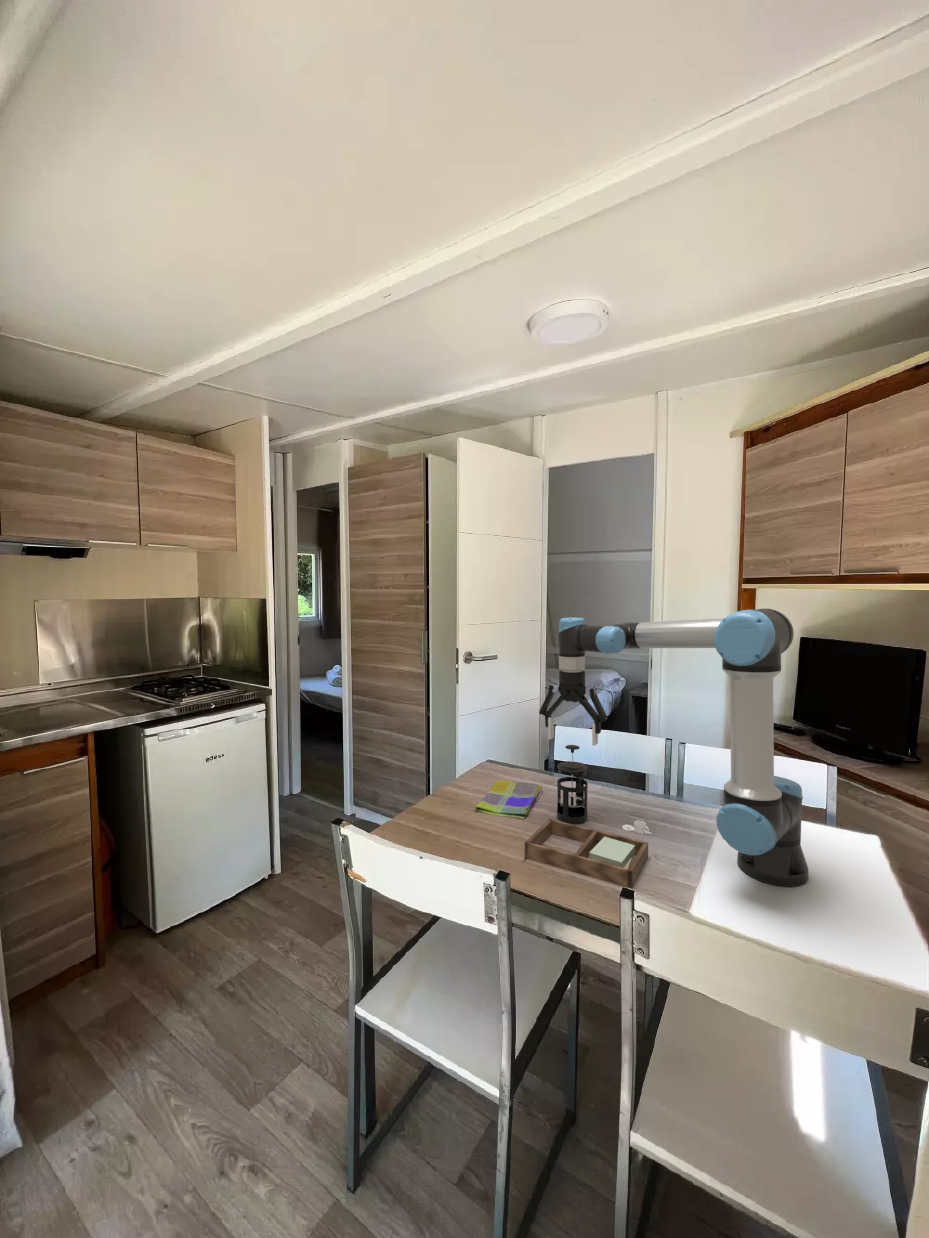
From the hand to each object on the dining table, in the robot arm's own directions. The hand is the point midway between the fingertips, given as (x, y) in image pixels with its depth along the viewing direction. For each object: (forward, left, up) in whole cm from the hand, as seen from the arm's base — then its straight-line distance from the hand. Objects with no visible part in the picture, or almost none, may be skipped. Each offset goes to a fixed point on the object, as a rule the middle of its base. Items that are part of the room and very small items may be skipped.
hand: (572, 741), depth 157 cm
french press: (0, 0, -25) cm, 25 cm away
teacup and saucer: (-19, -4, -25) cm, 31 cm away
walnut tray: (-11, +20, -24) cm, 34 cm away
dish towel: (+23, -4, -25) cm, 34 cm away
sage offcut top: (-18, +20, -21) cm, 34 cm away
